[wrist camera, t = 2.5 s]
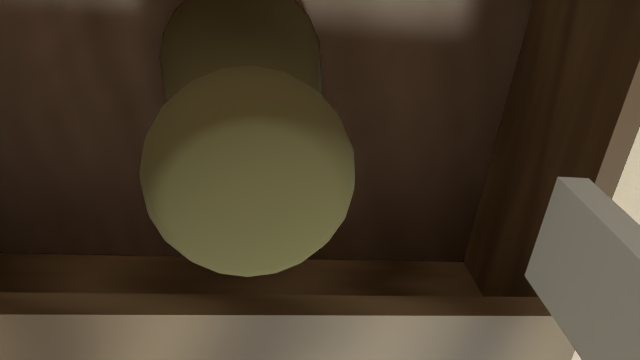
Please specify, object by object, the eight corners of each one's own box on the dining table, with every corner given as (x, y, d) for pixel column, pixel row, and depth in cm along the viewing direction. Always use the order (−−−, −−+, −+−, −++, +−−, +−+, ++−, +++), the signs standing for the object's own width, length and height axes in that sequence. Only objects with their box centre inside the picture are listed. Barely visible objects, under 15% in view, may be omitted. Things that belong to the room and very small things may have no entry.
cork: (227, -59, 21) (226, 14, 11) (352, 50, 23) (440, 187, 14) (127, 72, 23) (53, 233, 13) (254, 162, 25) (271, 352, 15)
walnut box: (-55, 268, 25) (-162, 424, 18) (-174, -320, 17) (-467, -448, 10) (475, 276, 30) (552, 406, 23) (609, -194, 21) (805, -219, 14)
